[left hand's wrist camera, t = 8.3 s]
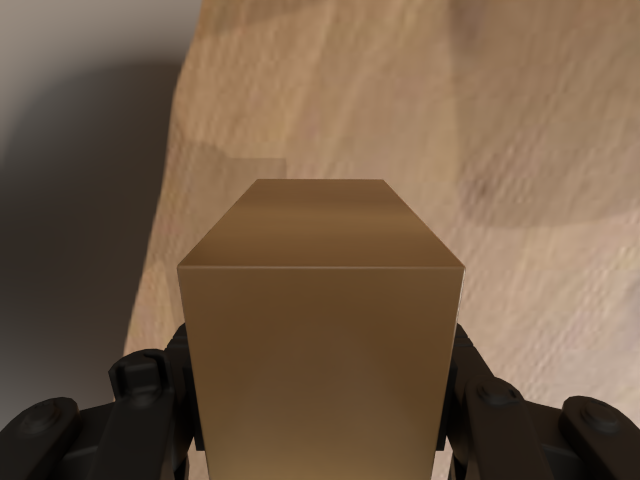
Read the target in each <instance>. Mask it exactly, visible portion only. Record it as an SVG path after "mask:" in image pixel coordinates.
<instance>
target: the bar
mask: <svg viewBox="0 0 640 480" xmlns="http://www.w3.org/2000/svg"><path fill="white" fill-rule="evenodd" d="M465 271H466V268H465V266H464V265H463V264H462V263H461V262H460V261H459V259H458V258H457V257H456V256H455V255H454V254H453V253H452V252H451V251H450V250H449V249H448V248H447V247H446V246H445V245H444V244H443V243H442V241H441V240H440V239H439V238H438V237H437V236H436V235H435V234H434V233H433V232H432V231H431V230H430V229H429V228H428V227H427V226H426V225H425V223H424V222H423V221H422V220H421V219H420V218H419V217H418V216H417V215H416V214H415V213H414V212H413V211H412V210H411V209H410V208H409V206H408V205H407V204H406V203H405V202H404V201H403V200H402V199H401V198H400V197H399V196H398V195H397V194H396V193H395V192H394V191H393V190H392V188H391V187H390V186H389V185H388V184H387V183H386V182H385V181H384V180H362V179H257V180H256V181H255V182H254V183H253V185H252V186H251V187H250V188H249V189H248V190H247V191H246V192H245V193H244V194H243V195H242V196H241V198H240V199H239V200H238V201H237V202H236V203H235V204H234V205H233V206H232V207H231V208H230V209H229V210H228V212H227V213H226V214H225V215H224V216H223V217H222V218H221V219H220V220H219V221H218V222H217V223H216V225H215V226H214V227H213V228H212V229H211V230H210V231H209V232H208V233H207V234H206V235H205V236H204V238H203V239H202V240H201V241H200V242H199V243H198V244H197V245H196V246H195V247H194V248H193V249H192V251H191V252H190V253H189V254H188V255H187V256H186V257H185V258H184V259H183V260H182V261H181V262H180V264H179V265H178V266H177V273H178V279H179V286H180V292H181V299H182V305H183V312H184V318H185V325H186V331H187V338H188V344H189V351H190V357H191V364H192V370H193V377H194V383H195V390H196V396H197V403H198V409H199V416H200V422H201V429H202V435H203V441H204V448H205V454H206V461H207V467H208V474H209V480H431V476H432V470H433V464H434V458H435V452H436V446H437V440H438V434H439V428H440V422H441V416H442V410H443V404H444V398H445V392H446V386H447V380H448V374H449V368H450V362H451V356H452V350H453V344H454V338H455V331H456V325H457V319H458V313H459V307H460V301H461V295H462V289H463V283H464V277H465Z"/></svg>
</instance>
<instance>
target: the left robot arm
mask: <svg viewBox="0 0 640 480" xmlns="http://www.w3.org/2000/svg"><path fill="white" fill-rule="evenodd" d="M108 373H109V377H110V381H111V385H112V388H113V392H114V396H115V402H112V403H109V404H106V405H101V406H97V407H93V408H89V409H85V410H81V411H79V409H78V406H77V403H76V402H75V401H74V400H73V399H71V398H65V397H59V398H52V399H48V400H45V401H42V402H39V403H37V404H35V405H33V406H31V407H29V408H28V409H26V410H24V411H22V412H21V413H20V414H19V415H18V416H16V417H15V418H14V419H13V420H11V421H10V422H9V423H8V425H7V426H6V427H5V428H4V429H3V430H2V431H1V432H0V480H188V476H189V459H188V453H187V452H188V450H189V447H190V444H191V442H192V439H193V437H194V440H195V446H196V451H205V448H204V441H203V435H202V429H201V422H200V416H199V409H198V403H197V396H196V390H195V383H194V377H193V370H192V364H191V357H190V351H189V344H188V338H187V331H186V325H185V323H184V324H182V325H181V326H180V327H179V328H178V330H177V331H176V333H175V334H174V336H173V339H171V340H170V342H169V343H168V345H167V348H165V350H164V351H163V350H159V349H144V350H140V351H136V352H133V353H131V354H129V355H127V356H124V357H123V358H121V359H120V360H119V361H117V362H116V363H115V364H114V365H113V366H112V367H111V369H110V370H109V371H108ZM446 435H447V437H448V440H449V442H450V445H451V447H452V450H453V453H452V458H451V464H450V469H449V475H448V480H640V429H639V428H638V427H637V426H636V425H635V424H634V423H633V422H632V421H631V420H630V419H629V418H628V417H626V416H625V415H624V414H623V413H621V412H620V411H619V410H618V409H616V408H614V407H612V406H610V405H609V404H607V403H605V402H603V401H600V400H597V399H594V398H591V397H585V396H573V397H569V398H568V399H567V400H565V401H564V403H563V407H562V409H557V408H553V407H549V406H545V405H541V404H536V403H533V402H530V401H526V400H524V398H523V397H522V395H521V393H520V392H519V391H518V390H517V389H516V388H515V387H514V386H512V385H511V384H510V383H508V382H506V381H504V380H502V379H500V378H497V377H494V375H493V374H492V372H491V371H490V369H489V367H488V366H487V364H486V363H485V361H484V360H483V358H482V357H481V355H480V354H479V352H478V351H477V349H476V348H475V347H474V346H473V343H472V342H471V340H470V339H469V338H468V336H467V334H466V333H465V331H464V330H463V328H462V327H461V325H459V324H458V323H457V325H456V331H455V338H454V344H453V350H452V356H451V362H450V368H449V374H448V380H447V386H446V392H445V398H444V404H443V410H442V416H441V422H440V428H439V434H438V440H437V446H436V451H444V447H445V441H446Z"/></svg>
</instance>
